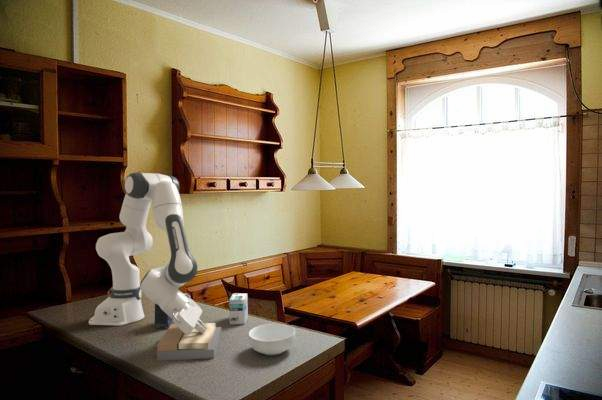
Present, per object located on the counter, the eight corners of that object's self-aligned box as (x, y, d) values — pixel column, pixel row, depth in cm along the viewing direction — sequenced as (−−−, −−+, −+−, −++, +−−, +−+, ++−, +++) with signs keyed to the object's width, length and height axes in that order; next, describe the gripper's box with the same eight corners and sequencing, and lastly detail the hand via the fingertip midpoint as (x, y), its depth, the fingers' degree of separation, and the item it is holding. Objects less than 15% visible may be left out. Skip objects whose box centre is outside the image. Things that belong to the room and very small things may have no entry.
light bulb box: (245, 324, 170) (244, 299, 170) (229, 324, 170) (228, 299, 170) (248, 316, 181) (247, 292, 181) (233, 316, 181) (232, 292, 180)
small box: (168, 329, 165) (167, 304, 165) (154, 328, 166) (153, 303, 166) (180, 321, 175) (180, 297, 175) (167, 320, 177) (166, 296, 176)
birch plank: (178, 349, 137) (178, 343, 137) (189, 328, 157) (189, 323, 157) (208, 348, 138) (208, 342, 138) (215, 328, 158) (215, 323, 158)
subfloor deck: (157, 360, 135) (156, 345, 135) (172, 336, 157) (171, 323, 157) (214, 358, 137) (213, 343, 137) (221, 334, 159) (220, 321, 159)
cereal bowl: (262, 339, 154) (262, 320, 154) (302, 345, 148) (302, 326, 147) (239, 356, 138) (239, 336, 138) (283, 364, 132) (283, 343, 132)
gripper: (176, 308, 136) (206, 335, 137) (188, 292, 156) (214, 316, 157) (163, 321, 136) (194, 348, 137) (177, 304, 156) (203, 327, 157)
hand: (205, 331), depth 147 cm, fingers closed, pressing on birch plank
